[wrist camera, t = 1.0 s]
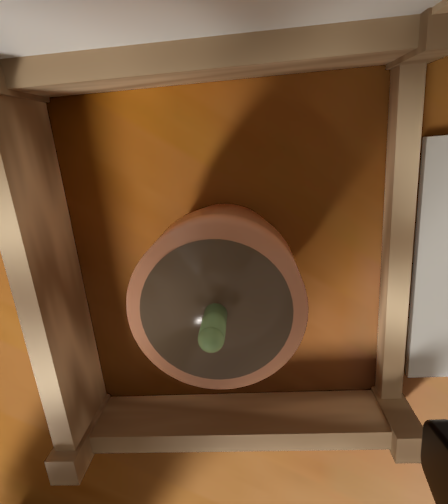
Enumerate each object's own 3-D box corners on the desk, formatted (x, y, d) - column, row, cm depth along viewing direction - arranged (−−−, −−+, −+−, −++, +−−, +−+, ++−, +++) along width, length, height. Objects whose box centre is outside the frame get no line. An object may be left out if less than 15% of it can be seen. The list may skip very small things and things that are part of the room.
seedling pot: (290, 311, 19) (320, 431, 11) (171, 316, 19) (121, 435, 12) (286, 190, 17) (319, 234, 9) (156, 199, 17) (84, 249, 10)
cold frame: (396, 407, 20) (438, 482, 16) (90, 414, 22) (50, 485, 17) (423, 28, 15) (497, -19, 10) (13, 71, 16) (-75, 46, 12)
